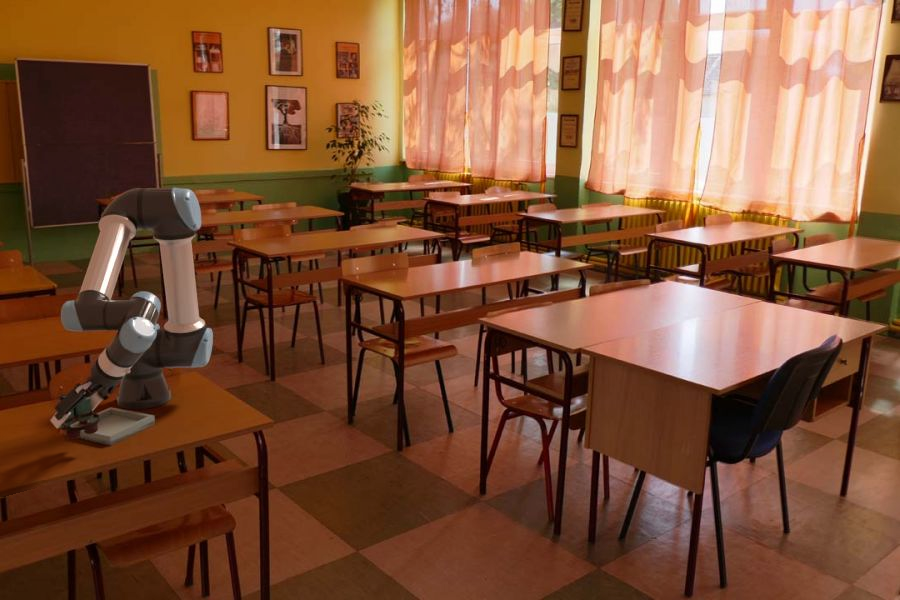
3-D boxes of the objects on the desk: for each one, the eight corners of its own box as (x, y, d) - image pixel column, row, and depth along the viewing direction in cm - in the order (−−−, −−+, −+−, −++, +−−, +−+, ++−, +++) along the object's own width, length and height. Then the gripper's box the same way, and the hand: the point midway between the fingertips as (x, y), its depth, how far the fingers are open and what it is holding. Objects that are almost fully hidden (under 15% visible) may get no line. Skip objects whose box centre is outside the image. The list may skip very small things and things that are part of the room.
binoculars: (70, 407, 190) (50, 394, 196) (72, 446, 193) (53, 432, 199) (105, 397, 197) (85, 384, 203) (107, 434, 200) (87, 421, 206)
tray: (111, 415, 225) (110, 407, 225) (155, 423, 220) (154, 415, 219) (65, 435, 211) (64, 427, 210) (111, 445, 205) (110, 436, 205)
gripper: (85, 392, 180) (43, 444, 190) (154, 364, 199) (113, 412, 209) (65, 367, 180) (24, 421, 190) (136, 341, 200) (95, 391, 210)
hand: (71, 416), depth 200 cm, fingers closed on binoculars, 9 cm apart
